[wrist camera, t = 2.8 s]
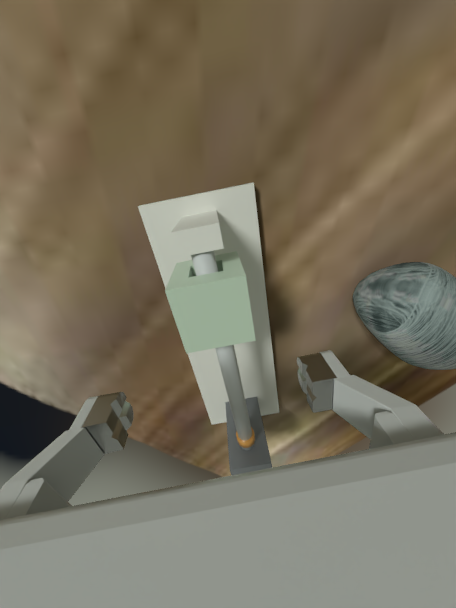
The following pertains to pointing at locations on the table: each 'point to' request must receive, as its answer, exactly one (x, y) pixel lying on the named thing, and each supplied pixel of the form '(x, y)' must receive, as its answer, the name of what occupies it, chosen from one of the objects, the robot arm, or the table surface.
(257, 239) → the stand
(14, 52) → the table surface
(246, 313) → the sleeve
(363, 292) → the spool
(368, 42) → the table surface
